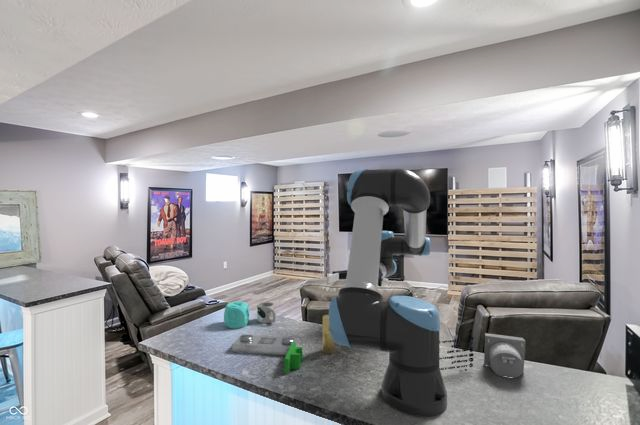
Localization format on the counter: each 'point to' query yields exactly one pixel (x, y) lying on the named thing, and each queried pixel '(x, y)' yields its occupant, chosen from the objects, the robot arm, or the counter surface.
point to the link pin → (327, 337)
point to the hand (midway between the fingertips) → (344, 282)
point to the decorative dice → (236, 314)
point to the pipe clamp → (293, 358)
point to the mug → (266, 313)
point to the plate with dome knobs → (264, 344)
